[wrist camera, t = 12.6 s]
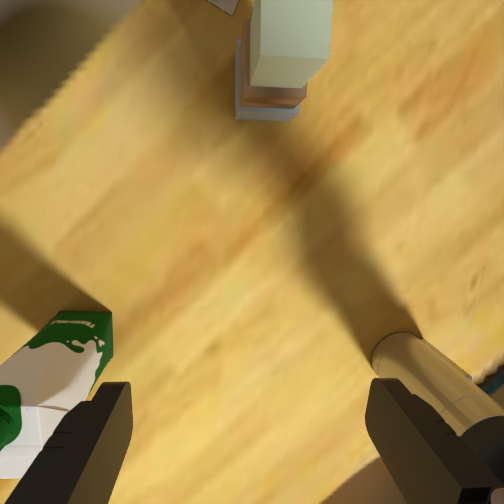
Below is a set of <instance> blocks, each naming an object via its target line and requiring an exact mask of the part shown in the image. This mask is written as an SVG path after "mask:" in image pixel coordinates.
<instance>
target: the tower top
mask: <svg viewBox="0 0 504 504" xmlns="http://www.w3.org/2000/svg"><path fill="white" fill-rule="evenodd" d="M250 23H251V20H245V21H244V27H243V34H242V40H241V107H253V108H278V109H294V108H295V107H296V106H297V105H298V104H299V103H300V102H302V101H303V100H304V99H305V98H306V94H307V83H306V85H305V86H304V87H303V88H280V87H257V86H250Z"/></svg>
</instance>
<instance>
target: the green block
mask: <svg viewBox="0 0 504 504" xmlns="http://www.w3.org/2000/svg"><path fill="white" fill-rule="evenodd" d="M332 8H333V0H255V3H254V8H253V13H252V18H251V23H250V86H257V87H280V88H303V87H304V86H305V85H306V83H307V82H308V81H309V80H310V79H311V78H312V77H313V76H314V75H315V74H316V73H317V72H318V70H319V69H320V68H321V67H322V66H323V65H324V64H325V63H326V62H327V61H328V60H329V53H330V38H331V23H332Z"/></svg>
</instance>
